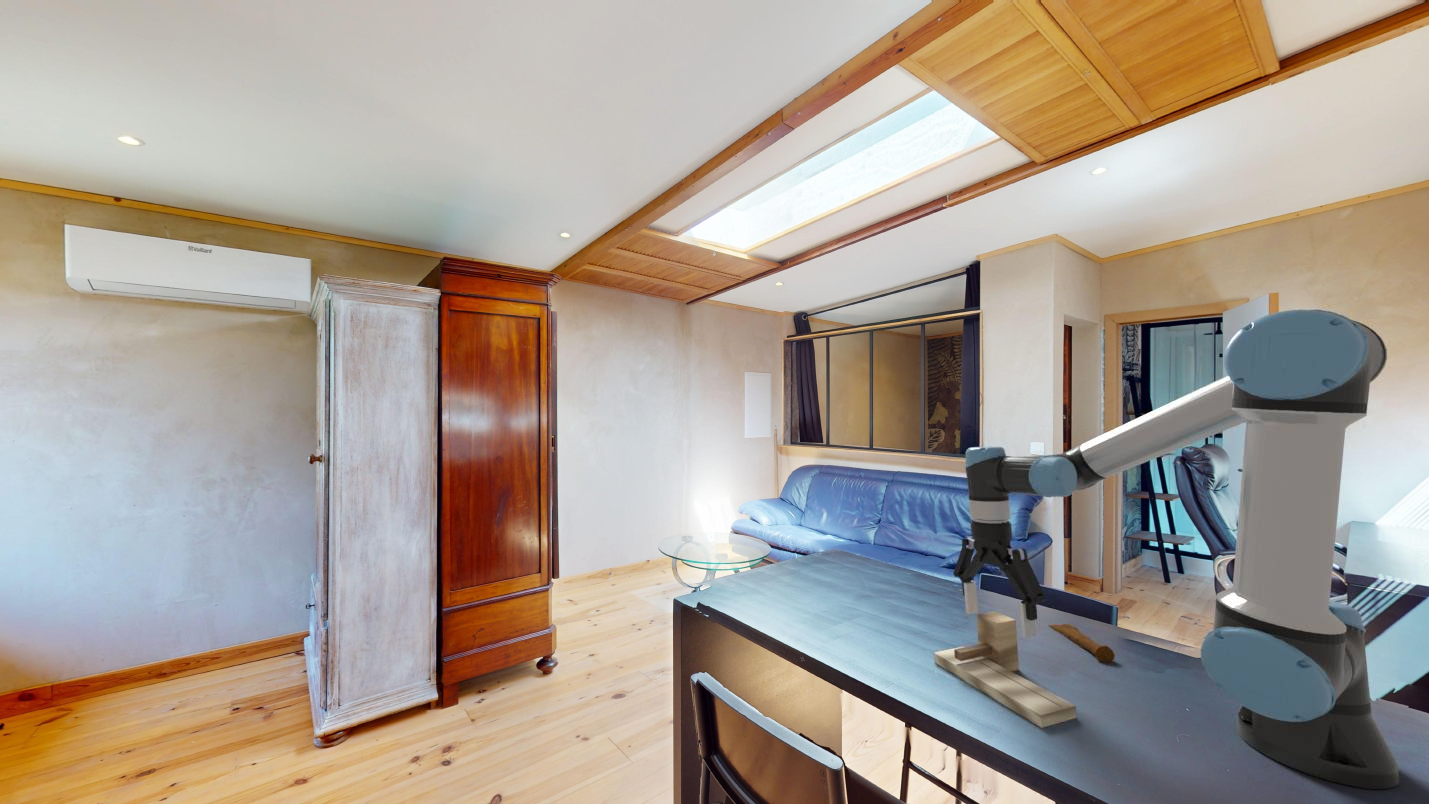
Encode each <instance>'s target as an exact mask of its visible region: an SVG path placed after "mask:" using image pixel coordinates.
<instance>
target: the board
mask: <svg viewBox="0 0 1429 804" xmlns="http://www.w3.org/2000/svg"><path fill="white" fill-rule="evenodd" d="M964 647H965V646H959V647H954V648H949V649H945V650H940V651H935V652H933V656H934V658H933V660H934V661H933V662H934V663H935V664H937V665H939V666H940V667H942V669H945V670H946V671H947V672H950V673H951V674H953V675H954V676H956V677H958V678H960V679H962V680H963V681H964V682H966V683H968V684H969V685H971V686H972V687H973V688H976V689H977V690H979V691H980V692H982V693H983V694H985V695H987V696H989V697H990V698H992V699H994V700H996V701H997V702H998V703H1000V704H1002V705H1004V706H1005V707H1007V708H1008V709H1010V710H1012V711H1013V712H1015V713H1016V714H1018V715H1020V716H1021V717H1023V718H1025V719H1026V720H1027V721H1030V722H1031V723H1033V724H1035V725H1036V726H1038V727H1039V728H1041V729H1042V728H1046V727H1050V726H1054V725H1057V724H1059V723H1060V724H1061V723H1063V722H1067V721H1071V720H1074V719H1077V708H1076V707H1077V705H1075V704H1073V703H1071V702H1069V701H1068V700H1066V699H1064V698H1062V697H1061V696H1058V695H1056V694H1054V693H1052V692H1050V691H1048V690H1047V689H1045V688H1043V687H1041V686H1039V685H1038V684H1036V683H1034V682H1032V681H1030V680H1029V679H1026V678H1025V677H1023V676H1020V675H1019V674H1016V673H1015V672H1014V671H1012V672H1011V671H1009V670H1007V669H1005V668H1004V667H1002V666H1000V665H998V664H996V663H994V662H992V661H990V660H988V659H987V658H985V657H983V656H982V657H977V658H973V659H968V660H964V661H960V660H958V659H956V658H955V653H954V649H959V648H964Z"/></svg>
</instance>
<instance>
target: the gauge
mask: <svg viewBox="0 0 1429 804" xmlns="http://www.w3.org/2000/svg"><path fill="white" fill-rule="evenodd" d="M976 622H977V623H976V624H977V625H976V627H977V640H978V643H977V644H975V645H970V646H964V648H959V649H954V648H953V649H954V653H955V658H956V659H958V660H960V661H964V660H968V659H973V658H977V657H982V656H983V657H985V658H987V659H988V660H990V661H992V662H994V663H996V664H998V665H1000V666H1002V667H1004V668H1005V669H1007V670H1009V671H1011V672H1016V671H1019V670H1020V668H1019V667H1020V666H1019V652H1018V651H1019V649H1018V634H1017V632H1018V631H1017V620H1016V619H1015V618H1012V617H1010V616H1008V615H1005V614H1002V613H1000V612H997V611H988V612H985V613H979V614H978V613H977V614H976Z"/></svg>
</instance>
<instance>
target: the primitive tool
mask: <svg viewBox="0 0 1429 804" xmlns="http://www.w3.org/2000/svg"><path fill="white" fill-rule="evenodd" d="M1048 627H1049V628H1051V629H1052V630H1054V631H1055V632H1057V633H1059V634H1060V635H1062V636H1064V637H1065V638H1067V639H1069V640H1071V641H1072V642H1074V643H1075V644H1076V645H1078V646H1080V647H1081V648H1083V649H1085V650H1087V651H1088V652H1090V653H1091V654H1093V655H1094V656H1095V659H1097V661H1099V662H1100V663H1101V662H1102V663H1112V662H1114V659H1115V652H1114V651H1113V650H1112V648H1110V647H1109V646H1107V645H1102V644H1100V643H1098V642H1096V641H1094V640H1093V639H1091V638H1090V637H1088V636H1086V635H1085V634H1084V633H1082V632H1081V631H1080V630H1079V628H1078V627H1076V626H1074V625H1070V624H1065V623H1064V624H1049V625H1048Z"/></svg>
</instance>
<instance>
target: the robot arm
mask: <svg viewBox="0 0 1429 804" xmlns="http://www.w3.org/2000/svg"><path fill="white" fill-rule="evenodd" d="M1387 360H1388V349H1387V347H1386V345H1385V342H1384V340H1383V338H1382V337H1381V336H1380V335H1379V334H1378V333H1377V332H1376V331H1375V330H1374V329H1372V328H1370V327H1369V326H1368V325H1366V324H1364V323H1362V322H1359V321H1357V320H1354V319H1351V318H1350V317H1349V318H1348V317H1347V316H1345V315H1342V314H1339V313H1336V312H1333V311H1328V310H1323V309H1290V310H1284V311H1283V310H1282V311H1278V312H1277V311H1276V312H1273V313H1270V314H1267V315H1265V316H1261V317H1260V318H1259V317H1258V318H1257V319H1255V320H1253V321H1251V322H1249V323H1247V324H1246V325H1245V326H1243V327H1242V328H1241V329H1239V330H1238V331H1236V333H1235V334H1234V336H1232V338H1231V339H1229V342H1228V343H1227V345H1226V348H1225V351H1224V355H1223V365H1224V368H1225V369H1224V370H1225V372H1226V373H1227V374H1226V375H1225V376H1224V377H1221V378H1220V379H1217V380H1215V381H1213V382H1210V383H1208V384H1206V385H1205V386H1203V387H1200V388H1198V389H1195V390H1194V391H1191V392H1190V393H1188V394H1185V395H1183V396H1181V397H1179V398H1177V399H1175V400H1173V401H1171V402H1169V403H1165V404H1164V405H1161V407H1158V408H1156V409H1153V410H1152V411H1150V412H1147V413H1146V414H1143V415H1141V416H1139V417H1136V418H1135V419H1133V420H1131V421H1128V422H1127V423H1125V424H1123V425H1120V426H1118V427H1116V428H1113V429H1112V430H1110V431H1107V432H1105V433H1103V434H1101V435H1098V436H1097V437H1095V438H1092V439H1090V440H1088V441H1087V442H1084V443H1082V444H1081V445H1078V446H1076V447H1074V448H1071V449H1069V450H1068V451H1064V452H1062V453H1056V454H1048V455H1047V454H1046V455H1037V456H1035V455H1034V456H1009V455H1007V454H1006V450H1005V447H1002V446H973V447H968V448H967V449H966V451H965V467H964V469H965V472H966V482H967V489H968V507H969V508H968V509H969V518H970V519H971V520H970V534H971V537H963V538H962V539H961V550H960V553H959V555H958V559H957V562H956V565H955V568H954V570H953V575H954V577H955V578H958V579H959V580H960V582H961V586H962V587H961V588H962V594H963V597H964V601H965V602H964V603H965V604H964V605H965V612H966V614H967V615H973V614H978V613H979V604H978V603H979V602H978V592H977V591H978V590H977V582H975V578H976V576H977V575H978V573H979V572H980V571H981V569H982V568H983V566H985V565H991V566H993V567H995V568H998V569H999V570H1000V571H1001V572H1003V573H1004V575H1005V576H1006V577H1007V579H1008V580H1009V582H1010V584H1011V585H1012V586H1013V588H1014V589H1015V591H1016V592H1017V595H1019V597H1020V599H1021V601H1019V602H1018V603H1019V605H1018V606H1019V615H1020V628H1021V636H1022V637H1023V638H1030V637H1034V636H1037V630H1036V620H1038V608H1037V603H1041V602H1046V601H1047V597H1046V594H1045V592H1044V591H1043V589H1042V586H1041V585H1040V583H1039V580H1038V578H1037V576H1036V574H1035V572H1034V569H1033V568H1032V566H1031V564H1030V561H1029V558H1028V552H1027V550H1026V549H1025V548H1012V545H1011V541H1012V539H1013V531H1012V530H1013V529H1012V523H1011V522H1010V519H1011V510H1010V497H1009V494H1015V495H1018V494H1019V495H1028V496H1029V495H1031V496H1040V497H1045V498H1053V497H1054V498H1057V497H1058V498H1066V497H1070V495H1072V494H1073V492H1074V491H1081V490H1085V489H1089V488H1091V487H1093V486H1096V485H1097V484H1098V483H1099V482H1100V481H1104V480H1106V479H1107V478H1110V477H1113V476H1114V475H1117V474H1119V473H1123V472H1124V471H1127V470H1129V469H1132V468H1135V467H1137V466H1140V465H1142V464H1145V463H1147V462H1149V461H1152V460H1155V459H1157V458H1159V457H1162V456H1164V455H1167V454H1170V453H1172V452H1174V451H1177V450H1179V449H1180V450H1181V449H1183V448H1185V447H1187V446H1189V445H1192V444H1194V443H1197V442H1199V441H1202V440H1205V439H1207V438H1210V437H1212V436H1215V435H1216V434H1220V433H1222V432H1224V431H1228V430H1229V429H1232V428H1234V427H1237V426H1239V425H1242V424H1244V423H1245V432H1244V445H1243V446H1244V447H1243V455H1242V467H1241V468H1242V469H1241V471H1242V472H1241V483H1240V492H1239V504H1238V505H1239V508H1238V515H1237V516H1238V517H1237V518H1238V519H1237V530H1236V540H1235V541H1236V542H1235V554H1234V555H1235V556H1234V565H1233V566H1234V567H1233V576H1232V577H1233V578H1232V579H1233V581H1232V586H1231V587H1229V588H1227V589H1224V590H1222V591H1220V592H1218V593H1217V594H1216V598H1215V599H1216V600H1215V611H1214V619H1213V630H1211V631H1209V632H1208V633H1207V634H1206V636H1205V637H1204V638H1203V639H1204V640H1203V641H1202V644H1201V647H1200V660H1201V662H1202V665H1203V667H1204V669H1205V671H1206V673H1207V675H1208V676H1209V678H1210V679H1211V680H1212V681H1213V682H1214V683H1215V684H1216V685H1217V686H1218V687H1219V689H1220V690H1221V691H1222V692H1223V693H1225V695H1227V696H1228V697H1229V698H1231V699H1232V700H1233V701H1235V702H1236V703H1238V704H1240V706H1239V709H1238V711H1237V714H1236V727H1237V733H1238V734H1239V736H1240V737H1241V738H1242V739H1243V741H1244V742H1245V743H1247V744H1248V745H1250V746H1251V747H1252V748H1254V749H1255V750H1257V751H1258V752H1260V753H1262V754H1264V755H1265V756H1267V757H1269V758H1270V759H1273V760H1274V761H1276V762H1279V763H1281V764H1283V765H1285V766H1287V767H1290V768H1293V769H1294V770H1297V771H1300V772H1302V773H1305V774H1308V775H1310V776H1314V777H1315V778H1316V777H1317V778H1320V779H1323V780H1327V781H1329V782H1333V783H1338V784H1341V785H1346V786H1351V787H1355V788H1362V789H1373V790H1374V789H1375V790H1386V789H1392V788H1395V787H1397V786H1398V785H1399V783H1400V776H1399V775H1400V774H1399V766H1398V763H1397V760H1396V758H1395V755H1393V753H1392V752H1393V751H1391V748H1390V747H1389V746H1388V743H1387V742H1386V740H1385V737H1384V736H1383V734H1382V732H1381V730H1380V728H1379V726H1378V725H1377V723H1376V721H1375V719H1374V717H1373V713H1372V705H1371V704H1372V703H1371V691H1370V685H1369V684H1370V683H1369V675H1368V674H1369V673H1368V663H1367V653H1366V645H1365V644H1366V642H1365V633H1366V631H1367V630H1366V629H1367V628H1365V627H1364V624H1363V620H1362V616H1361V614H1360V612H1359V611H1358V610H1356V609H1355V607H1352V606H1350V605H1347V604H1344V603H1341V602H1337V601H1333V600H1331V592H1332V591H1331V589H1332V579H1333V568H1334V559H1335V558H1334V557H1335V547H1336V545H1335V544H1336V537H1337V536H1336V535H1337V524H1338V515H1339V514H1338V513H1339V502H1340V492H1341V480H1342V469H1343V459H1344V458H1343V457H1344V448H1345V438H1346V429H1347V428H1348V427H1349V426H1351V425H1353V424H1354V423H1356V422H1358V421H1360V420H1362V419H1364V418H1366V417H1367V415H1368V404H1369V395H1370V388H1371V386H1370V385H1371V383H1372V382H1373V381H1374V380H1376V379H1377V378H1378V377H1379V375H1380V374H1381V373H1382V371H1383V369H1384V368H1385V366H1386V363H1387ZM975 551H976V552H975ZM974 553H975V554H974Z"/></svg>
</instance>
